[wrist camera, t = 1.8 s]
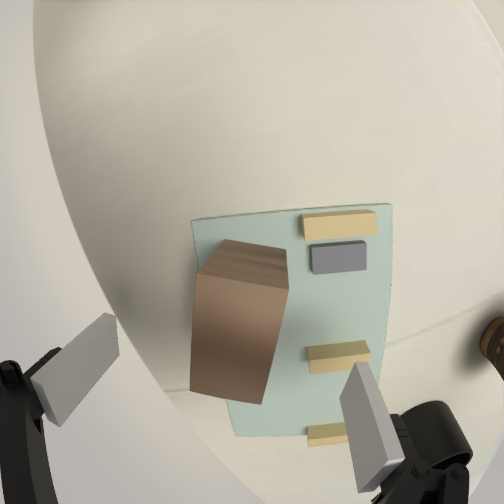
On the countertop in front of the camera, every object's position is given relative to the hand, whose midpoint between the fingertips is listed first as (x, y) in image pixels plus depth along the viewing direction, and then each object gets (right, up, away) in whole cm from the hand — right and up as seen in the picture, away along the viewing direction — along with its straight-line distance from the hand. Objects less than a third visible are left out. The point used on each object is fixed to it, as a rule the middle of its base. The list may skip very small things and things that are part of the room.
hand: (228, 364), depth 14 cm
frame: (+1, +3, +8) cm, 8 cm away
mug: (+23, -18, +13) cm, 31 cm away
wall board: (+6, -3, +10) cm, 12 cm away
